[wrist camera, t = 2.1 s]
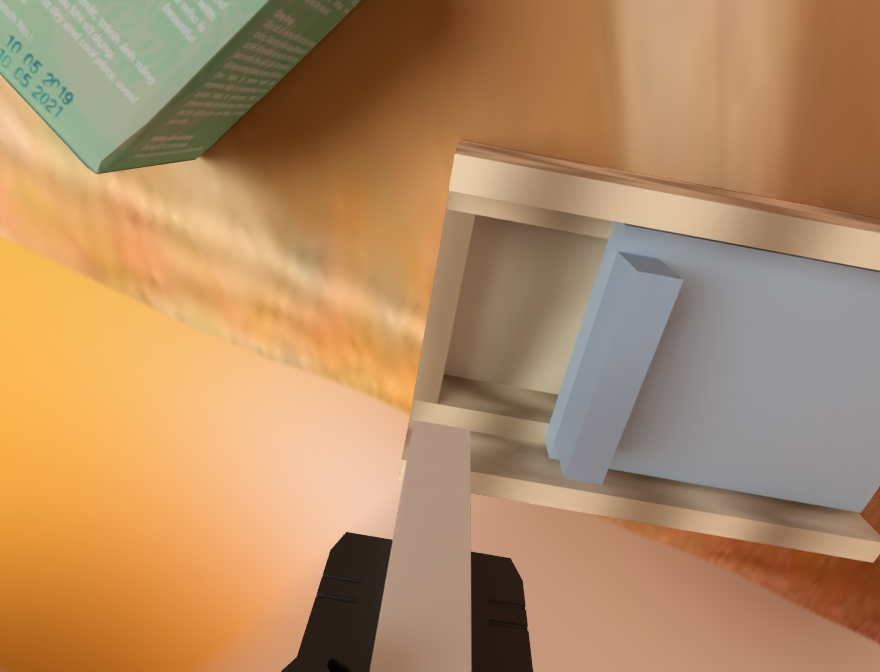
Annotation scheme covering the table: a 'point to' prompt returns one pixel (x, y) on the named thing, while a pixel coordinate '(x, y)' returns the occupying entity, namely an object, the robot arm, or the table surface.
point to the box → (153, 68)
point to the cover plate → (725, 371)
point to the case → (559, 320)
